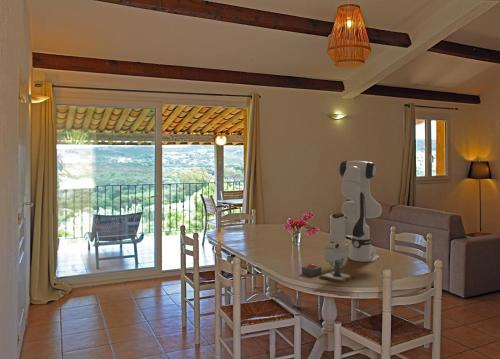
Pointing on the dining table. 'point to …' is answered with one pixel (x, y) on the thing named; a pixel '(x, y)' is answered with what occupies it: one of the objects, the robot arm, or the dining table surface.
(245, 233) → the dining table surface
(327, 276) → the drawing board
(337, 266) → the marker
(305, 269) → the button housing
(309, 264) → the button
